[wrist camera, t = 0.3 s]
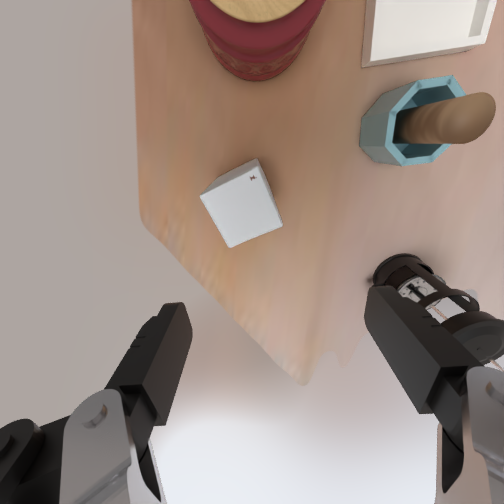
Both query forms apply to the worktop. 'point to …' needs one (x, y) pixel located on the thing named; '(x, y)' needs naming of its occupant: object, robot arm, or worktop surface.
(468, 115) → the walnut peg
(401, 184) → the worktop surface
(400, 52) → the white tray
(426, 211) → the worktop surface
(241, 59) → the canister
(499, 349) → the french press
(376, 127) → the teal pot
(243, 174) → the supplement box
